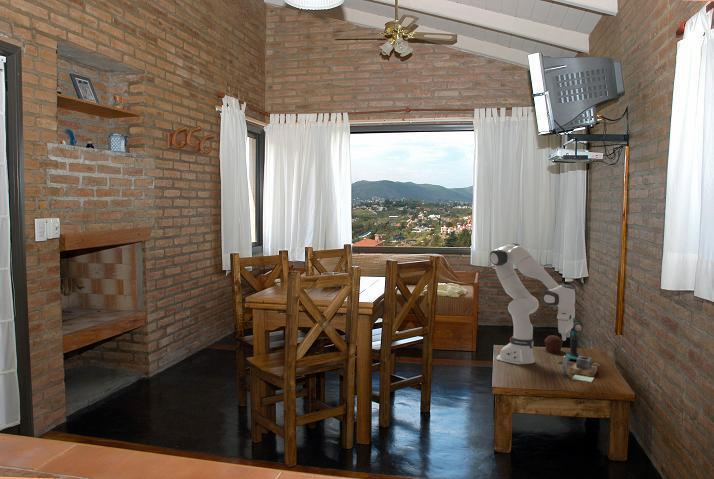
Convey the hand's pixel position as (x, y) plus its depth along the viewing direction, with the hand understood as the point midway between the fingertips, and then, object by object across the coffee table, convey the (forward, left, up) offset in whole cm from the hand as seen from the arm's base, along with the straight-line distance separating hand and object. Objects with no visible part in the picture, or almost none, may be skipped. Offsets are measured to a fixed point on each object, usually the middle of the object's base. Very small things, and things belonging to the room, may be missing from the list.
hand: (565, 338), depth 313 cm
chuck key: (0, 0, -21) cm, 21 cm away
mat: (+10, -2, -20) cm, 23 cm away
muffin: (-18, +49, -21) cm, 56 cm away
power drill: (-2, +35, -21) cm, 41 cm away
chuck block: (+9, +11, -20) cm, 25 cm away
